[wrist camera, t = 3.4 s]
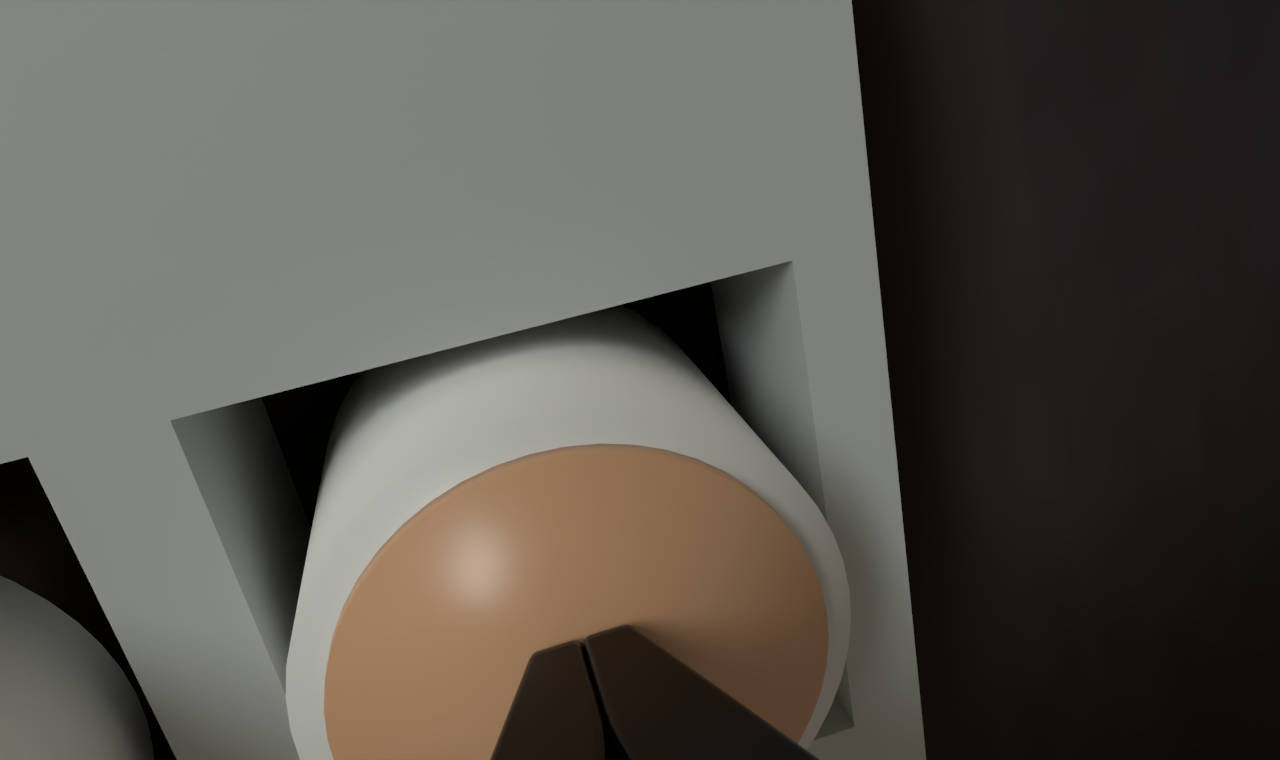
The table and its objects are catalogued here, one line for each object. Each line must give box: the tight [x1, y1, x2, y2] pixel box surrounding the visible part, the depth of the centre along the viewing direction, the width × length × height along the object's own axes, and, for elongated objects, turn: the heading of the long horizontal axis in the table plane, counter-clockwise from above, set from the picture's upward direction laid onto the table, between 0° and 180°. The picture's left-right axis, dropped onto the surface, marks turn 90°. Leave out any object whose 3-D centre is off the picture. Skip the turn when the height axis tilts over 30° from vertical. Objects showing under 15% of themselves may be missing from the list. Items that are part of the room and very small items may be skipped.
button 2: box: [286, 305, 851, 760], centre depth 10 cm, size 5×5×4 cm
